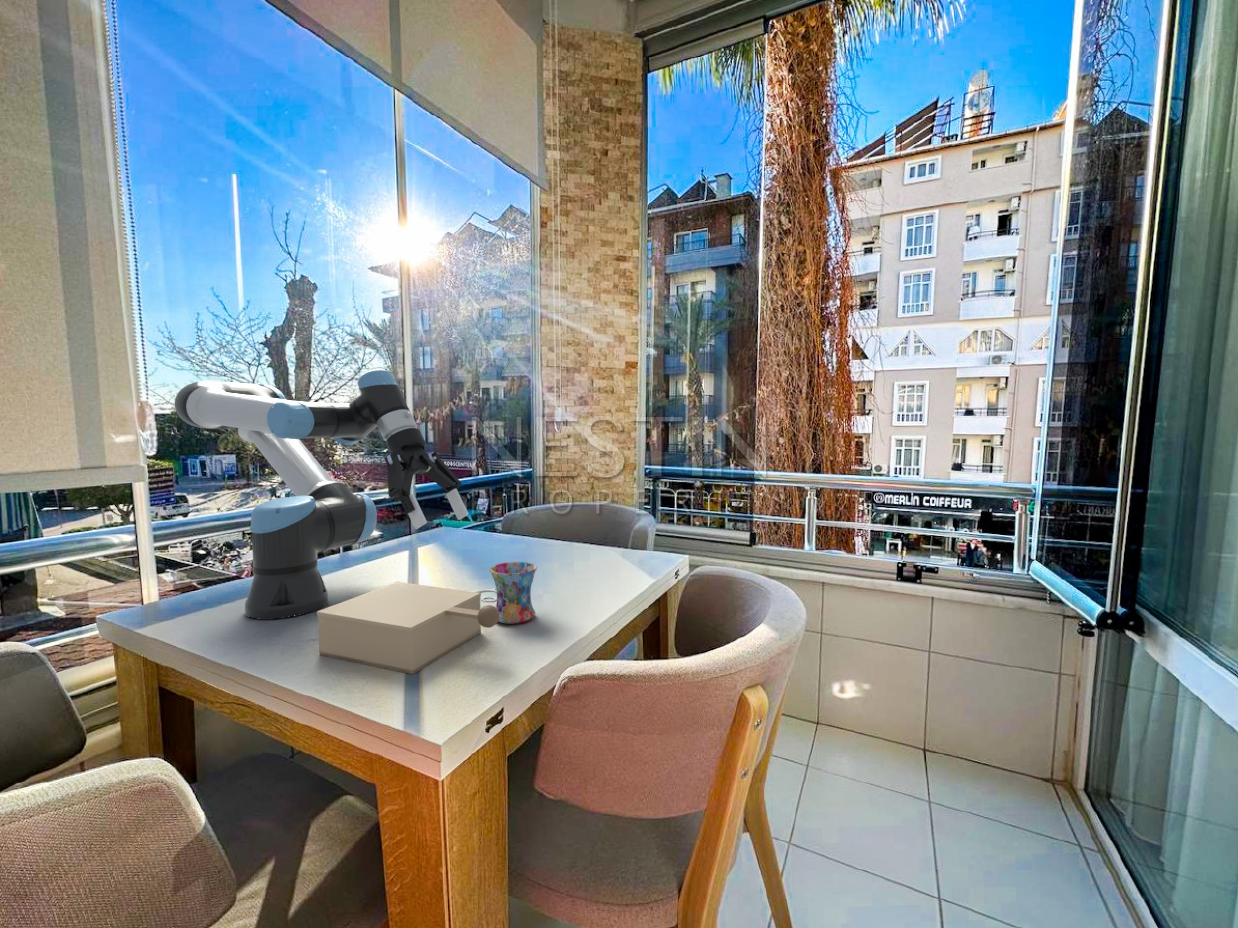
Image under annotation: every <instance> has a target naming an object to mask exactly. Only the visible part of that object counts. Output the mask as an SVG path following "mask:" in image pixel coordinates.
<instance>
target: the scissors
mask: <svg viewBox="0 0 1238 928" xmlns="http://www.w3.org/2000/svg"><path fill="white" fill-rule="evenodd" d="M469 591H470V592H477V593H486V592H487V593H488V592H493V593H496V594H497V590H496V587H494V588H490V589H482V590H469ZM486 599H490V600H486ZM491 599H492V600H491ZM480 602H483V603H493V602H497V597H495V596H482V595H481V596H480Z"/></svg>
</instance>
